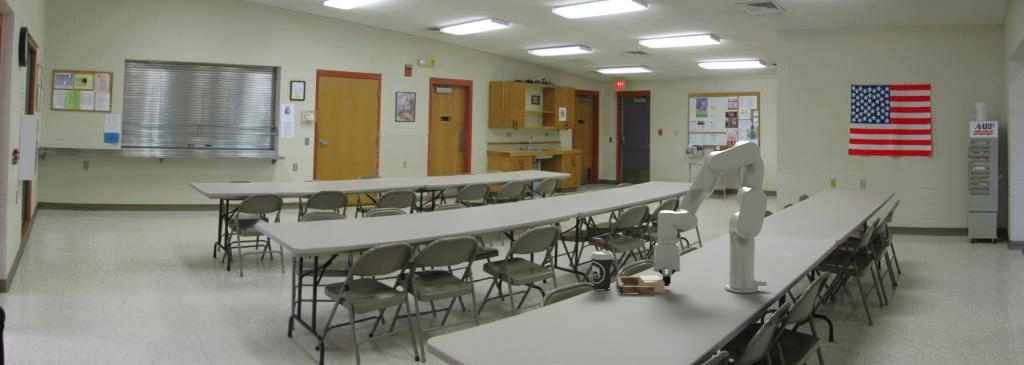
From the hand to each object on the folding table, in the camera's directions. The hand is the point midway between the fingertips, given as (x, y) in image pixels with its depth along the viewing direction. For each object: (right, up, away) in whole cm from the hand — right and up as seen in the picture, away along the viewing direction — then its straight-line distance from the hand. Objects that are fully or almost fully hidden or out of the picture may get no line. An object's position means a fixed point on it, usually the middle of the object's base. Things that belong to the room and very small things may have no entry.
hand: (666, 285), depth 268 cm
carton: (-6, -2, +1) cm, 6 cm away
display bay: (-12, -2, +1) cm, 12 cm away
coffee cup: (-26, -2, +2) cm, 26 cm away
